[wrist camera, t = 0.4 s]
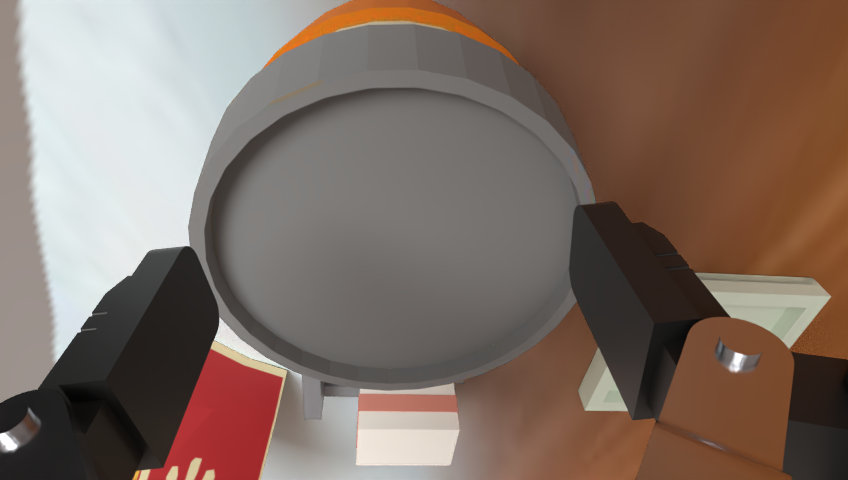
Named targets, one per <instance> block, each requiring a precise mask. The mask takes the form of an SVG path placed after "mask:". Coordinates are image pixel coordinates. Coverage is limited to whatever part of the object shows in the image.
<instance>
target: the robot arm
mask: <svg viewBox="0 0 848 480" xmlns="http://www.w3.org/2000/svg"><path fill="white" fill-rule="evenodd" d="M569 275H570V282H571V287H572V290H573V293H574V295H575V298H576V300H577V302H578V304H579V306H580V308H581V311H582V313H583V315H584V317H585V319H586V321H587V324H588V326H589V328H590V330H591V332H592V334H593V336H594V339H595V341H596V343H597V345H598V347H599V349H600V352H601V354H602V356H603V358H604V360H605V362H606V364H607V367H608V369H609V371H610V373H611V375H612V377H613V380H614V382H615V384H616V386H617V388H618V390H619V392H620V395H621V397H622V399H623V401H624V403H625V405H626V408H627V410H628V412H629V414H630V416H631V418H632V420H641V419H650V418H655V420H656V423H655V425H654V428H653V431H652V434H651V436H650V439H649V442H648V445H647V448H646V451H645V454H644V457H643V459H642V462H641V465H640V468H639V471H638V474H637V477H636V480H848V360H846V359H838V358H831V357H823V356H816V355H808V354H801V353H795V352H790V350H789V348H788V347H787V346H786V345H785V343H784V342H783V341H782V340H781V339H779V338H778V337H777V336H776V335H774V334H773V333H772V332H770V331H768V330H767V329H765V328H763V327H761V326H759V325H757V324H754V323H751V322H749V321H746V320H741V319H737V318H731V317H730V316H729V314H728V313H727V312H726V311H725V310H724V308H723V307H722V306H721V305H720V303H719V302H718V301H717V300H716V298H715V297H714V296H713V295H712V294H711V292H710V291H709V290H708V289H707V287H706V286H705V285H704V284H703V282H702V281H701V280H700V279H699V277H698V276H697V275H696V274H695V273H694V271H693V270H692V269H689V267H688V264H687V263H686V261H685V260H684V259H683V258H682V257H681V255H678V254H677V250H676V249H675V248H674V247H673V245H672V244H671V243H670V242H669V240H668V239H667V238H666V237H665V236H664V235H663V234H661V233H660V232H658V231H656V230H655V229H653V228H651V227H650V226H648V225H646V224H645V223H643V222H641V223H631V222H630V220H629V219H628V218H627V216H626V215H625V214H624V212H623V211H622V210H621V208H620V207H619V206H618V204H617V203H616V202H603V203H594V204H585V205H577V206H576V208H575V210H574V216H573V226H572V238H571V249H570V261H569ZM218 326H219V309H218V304H217V301H216V299H215V296H214V294H213V292H212V289H211V287H210V285H209V282H208V280H207V277H206V275H205V273H204V270H203V268H202V266H201V263H200V261H199V258H198V256H197V254H196V252H195V251H194V250H193V248H191V247H189V246H184V247H175V248H165V249H156V250H151V251H149V252H148V253H147V254H146V256H145V257H144V259H143V260H142V261H141V263H140V264H139V266H138V267H137V269H136V270H135V272H134V273H133V275H132V276H127V277H126V278H125V279H123V280H122V281H121V282H120V283H118V284H117V285H116V286H115V287H113V288H112V289H111V290H110V291H108V292H107V293H106V294H105V295H104V297H103V298H102V299H101V301H100V302H99V304H98V305H97V306H96V308H95V309H94V311H93V312H92V316H91V317H89V318H88V319H87V321H86V322H85V323H84V325H83V326H82V328H81V332H80V333H77V335H76V336H75V337H74V339H73V340H72V342H71V343H70V344H69V346H68V347H67V349H66V350H65V351H64V353H63V354H62V356H61V357H60V358H59V360H58V361H57V363H56V364H55V365H54V367H53V368H52V370H51V371H50V373H49V374H48V375H47V377H46V378H45V380H44V381H43V382H42V384H41V385H40V387H39V388H38V389H36V390H31V391H27V392H23V393H21V394H18V395H15V396H13V397H11V398H9V399H6V400H5V401H3V402H1V403H0V480H132V479H133V477H134V475H135V472H136V471H140V470H149V469H159V468H164V465H165V463H166V460H167V458H168V455H169V453H170V450H171V447H172V445H173V442H174V440H175V437H176V435H177V432H178V430H179V427H180V425H181V422H182V420H183V417H184V414H185V412H186V409H187V407H188V404H189V402H190V399H191V397H192V394H193V392H194V389H195V387H196V384H197V381H198V379H199V376H200V374H201V371H202V369H203V366H204V364H205V361H206V359H207V356H208V354H209V351H210V348H211V346H212V343H213V341H214V338H215V336H216V333H217V330H218Z"/></svg>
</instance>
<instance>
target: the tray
mask: <svg viewBox="0 0 848 480" xmlns="http://www.w3.org/2000/svg"><path fill="white" fill-rule="evenodd" d="M695 274H696V275H697V276H698V277H699V279H700V280H701V281H702V282H703V284H704V285H705V286H706V287H707V289H708V290H709V291H710V292H711V294H712V295H713V296H714V297H715V298H716V300H717V301H718V302H719V303H720V305H721V306H722V307H723V308H724V310H725V311H726V312H727V313H728V314H729V316H730V317H731V318H737V319H741V320H746V321H749V322H751V323H754V324H757V325H759V326H761V327H763V328H765V329H767V330H768V331H770V332H772V333H773V334H774V335H776V336H777V337H778V338H779V339H781V340H782V341H783V342H784V343H785V345H786V346H787V347H788V348H790V347H791V346H792V345H793V343H794V342H795V341H796V340H797V339H798V337H799V336H800V335H801V334H802V332H803V331H804V330H805V329H806V327H807V326H808V325H809V324H810V322H811V321H812V320H813V319H814V317H815V316H816V315H817V314H818V312H819V311H820V310H821V309H822V307H823V306H824V305H825V304H826V303H827V301H828V300H829V299H830V298H831V296H830V295H829V294H828V293H827V292H826V291H825V290H824V289H823V288H822V287H821V286H820V285H819V284H818V283H817V282H816V281H815V280H814V279H813V278H805V277H783V276H760V275H738V274H716V273H695ZM578 392H579V395H580V398H581V401H582V404H583V406H584V409H585V411H628V410H627V408H626V405H625V403H624V401H623V399H622V397H621V395H620V392H619V390H618V388H617V386H616V384H615V382H614V380H613V377H612V375H611V373H610V371H609V369H608V367H607V364H606V362H605V360H604V358H603V356H602V354H601V352H600V349H599V347H598V349H597V351H596V353H595V355H594V357H593V359H592V362H591V364H590V366H589V368H588V370H587V372H586V374H585V377H584V379H583V381H582V383H581V385H580V387H579V389H578Z"/></svg>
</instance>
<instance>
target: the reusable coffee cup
mask: <svg viewBox="0 0 848 480" xmlns="http://www.w3.org/2000/svg"><path fill="white" fill-rule="evenodd" d="M594 203H596V201H595V197H594V192H593V188H592V184H591V181H590V178H589V176H588V173H587V170H586V168H585V165H584V162H583V160H582V157H581V155H580V152H579V149H578V147H577V144H576V141H575V139H574V136H573V134H572V132H571V130H570V128H569V126H568V124H567V122H566V120H565V118H564V116H563V114H562V112H561V111H560V109H559V107H558V105H557V103H556V101H555V100H554V99H553V98H552V97H551V96H550V95H549V93H548V92H547V91H546V90H545V89H544V88H543V87H542V85H541V84H540V83H539V82H538V81H537V80H536V79H535V78H534V76H533V75H532V74H531V73H529V72H528V71H527V70H525V69H524V68H523V67H521V66H520V64H519V63H518V62H517V61H516V60H515V59H514V58H513V56H512V55H511V54H510V53H509V52H508V51H507V50H506V49H505V48H504V47H503V46H501V45H500V44H499V43H498V42H496V41H495V40H494V39H492V38H491V37H490V36H489V35H487V34H486V33H485V32H484V31H482V30H481V29H480V28H478V27H477V26H476V25H474V24H473V23H472V22H470V21H469V20H467V19H466V18H465V17H463V16H462V15H461V14H459V13H458V12H456V11H454V10H452V9H450V8H448V7H445V6H443V5H441V4H438V3H436V2H434V1H432V0H353V1H349V2H347V3H345V4H343V5H341V6H338V7H336V8H334V9H332V10H330V11H328V12H326V13H324V14H323V15H322V16H320V17H319V18H318V19H317V20H315V21H314V22H313V23H311V24H310V25H309V26H307V27H306V28H305V29H304V30H302V31H301V32H300V33H299V34H298V35H296V36H295V37H294V38H293V39H292V40H290V41H289V42H288V43H287V44H285V45H284V46H283V47H282V48H281V49H279V50H278V51H277V52H276V53H275V54H274V55H273V57H272V58H271V59H270V60H269V62H268V63H267V64H266V65H265V67H264V68H263V69H262V70H261V71H260V72H258V73H257V74H256V75H255V76H253V77H252V78H251V79H250V80H249V81H248V83H247V84H246V85H245V86H244V88H243V89H242V90H241V91H240V92H239V94H238V95H237V96H236V97H235V99H234V100H233V101H232V102H231V104H230V105H229V106H228V107H227V109H226V111H225V113H224V115H223V117H222V119H221V122H220V124H219V126H218V128H217V130H216V132H215V134H214V137H213V139H212V141H211V144H210V147H209V150H208V153H207V156H206V159H205V162H204V165H203V168H202V171H201V174H200V177H199V180H198V183H197V186H196V189H195V192H194V198H193V203H192V209H191V214H190V220H189V226H188V230H189V241H190V247H191V248H193V250H194V251H195V252H196V254H197V256H198V258H199V261H200V263H201V266H202V268H203V270H204V273H205V275H206V277H207V280H208V282H209V285H210V287H211V289H212V292H213V294H214V296H215V299H216V301H217V304H218V309H219V317H220V318H221V319H222V320H223V321H224V322H225V323H226V324H227V325H228V326H229V327H230V328H231V329H232V330H233V331H234V332H235V334H236V335H237V336H238V337H239V338H240V339H242V340H243V341H244V342H246V343H247V344H248V345H250V346H251V347H253V348H254V349H255V350H257V351H258V352H259V353H261V354H262V355H264V356H265V357H266V358H268V359H270V360H272V361H274V362H276V363H278V364H280V365H282V366H284V367H286V368H288V369H290V370H292V371H294V372H297V373H300V374H302V375H305V376H308V377H311V378H314V379H317V380H320V381H323V382H327V383H332V384H337V385H341V386H346V387H351V388H357V389H371V390H384V391H393V390H415V389H424V388H430V387H436V386H442V385H447V384H452V383H455V382H459V381H462V380H465V379H469V378H472V377H475V376H479V375H481V374H483V373H486V372H488V371H490V370H492V369H495V368H497V367H499V366H501V365H504V364H506V363H508V362H510V361H511V360H513V359H514V358H516V357H518V356H519V355H521V354H522V353H524V352H526V351H527V350H529V349H530V348H532V347H533V346H535V345H536V344H537V343H538V342H539V341H541V340H542V339H543V338H544V337H545V336H546V335H547V334H549V333H550V332H551V331H552V330H553V329H554V328H555V327H557V326H558V324H559V323H560V322H561V321H562V319H563V318H564V317H565V316H566V314H567V313H568V312H569V311H570V309H571V308H572V307H573V306H574V305H575V303H576V302H577V300H576V298H575V295H574V293H573V290H572V287H571V282H570V275H569V261H570V249H571V238H572V226H573V216H574V210H575V208H576V206H577V205H585V204H594Z"/></svg>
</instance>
